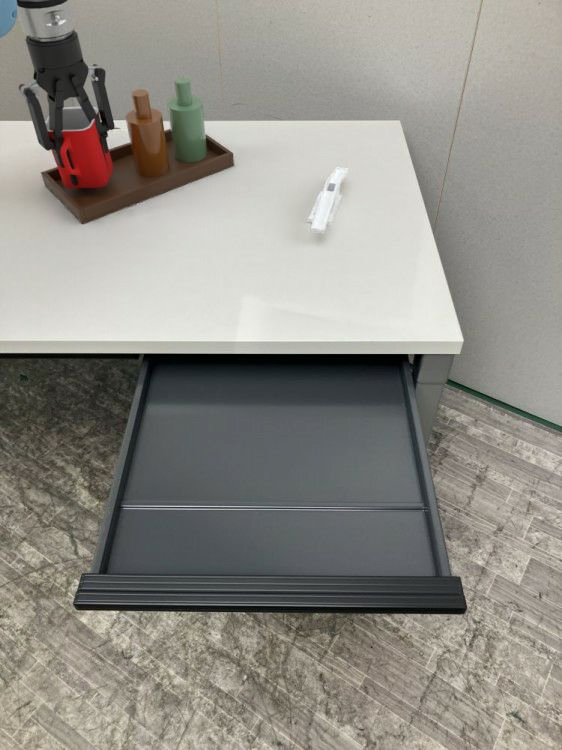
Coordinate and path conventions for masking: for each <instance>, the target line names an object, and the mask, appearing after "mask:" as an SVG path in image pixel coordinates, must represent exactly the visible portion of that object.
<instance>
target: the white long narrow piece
mask: <svg viewBox="0 0 562 750" xmlns="http://www.w3.org/2000/svg"><path fill="white" fill-rule="evenodd" d="M349 171H350V170H349V168H348V167H342V166H336V167H335V169H334V170H333V171H332V173H331V174H330V175H329V177H328V178H327V179H326V180H325V182H324V185H323V187H322V190H319V192H318V193H317V194H318V195H317V197H316V199H315V201H314V203H313V205H312V208H311V210H310V213H309V215H308V217H307V223H310V224H311V225H310V232H311V233H317V234H322V235H323V234H325V231H326V228H327V227H331V225H332V223H333V220H334V218H335V215H336V213H337V211H338V209H339V205H340V203H341V200H342V193H340V189H341V185H342V183H343V182H344V180H345V178H346V177H347V175H348V174H349Z"/></svg>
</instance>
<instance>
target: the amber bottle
mask: <svg viewBox="0 0 562 750" xmlns="http://www.w3.org/2000/svg"><path fill="white" fill-rule="evenodd" d="M131 98H132V104H133V109H132V110H130V111H128V112H127V113H126V114H125V117H124V118H125V123H126V128H127V133H128V137H129V138H128V139H129V143H130V144H131V149H132V154H133V159H134V164H135V170H136V172H137V173H138V174H139V175H142V176H146V177H155V176H160V175H163V174H165V173H166V172H167V171H168V170H169V168H170V165H169V159H168V152H167V145H166V138H165V125H164V118H163V114H162V112H161V110H159V109H156V108H153V107H151V102H150V96H149V91H148V90H147V89H136V90H133V91H132V92H131Z"/></svg>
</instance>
